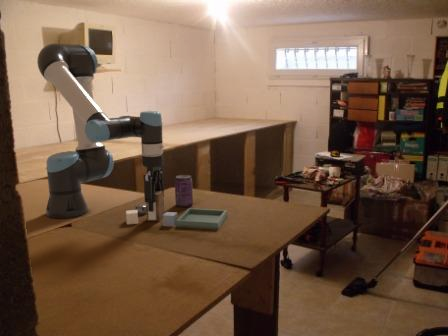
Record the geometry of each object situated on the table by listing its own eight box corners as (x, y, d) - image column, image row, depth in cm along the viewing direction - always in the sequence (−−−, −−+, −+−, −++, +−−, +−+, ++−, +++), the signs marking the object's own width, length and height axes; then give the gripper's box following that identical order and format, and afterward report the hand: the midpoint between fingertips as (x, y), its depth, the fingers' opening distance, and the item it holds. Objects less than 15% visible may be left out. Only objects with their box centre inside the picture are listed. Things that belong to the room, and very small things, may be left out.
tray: (176, 227, 151) (176, 220, 150) (189, 214, 165) (188, 208, 165) (218, 229, 148) (218, 223, 147) (227, 216, 162) (227, 210, 161)
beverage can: (184, 201, 182) (183, 173, 180) (196, 204, 178) (195, 176, 175) (172, 205, 177) (170, 176, 174) (184, 208, 172) (183, 179, 170)
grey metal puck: (133, 214, 166) (132, 207, 165) (138, 211, 171) (138, 203, 170) (145, 215, 165) (145, 207, 164) (150, 211, 170) (150, 204, 169)
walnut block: (146, 220, 158) (145, 194, 156) (151, 216, 163) (150, 190, 161) (159, 221, 157) (158, 194, 155) (164, 217, 162) (163, 191, 160)
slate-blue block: (163, 226, 152) (162, 215, 152) (167, 222, 156) (166, 211, 155) (174, 226, 152) (173, 215, 151) (177, 223, 155) (177, 212, 155)
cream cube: (126, 224, 155) (126, 213, 154) (126, 221, 159) (126, 210, 158) (138, 223, 156) (137, 212, 155) (138, 220, 159) (137, 209, 159)
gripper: (152, 159, 146) (156, 225, 150) (171, 150, 164) (173, 209, 168) (132, 159, 147) (135, 224, 152) (152, 150, 165) (155, 208, 170)
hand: (155, 216), depth 160 cm, fingers open, 6 cm apart
